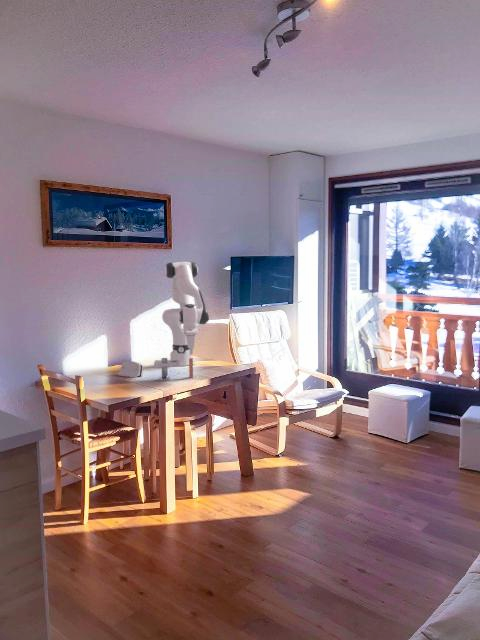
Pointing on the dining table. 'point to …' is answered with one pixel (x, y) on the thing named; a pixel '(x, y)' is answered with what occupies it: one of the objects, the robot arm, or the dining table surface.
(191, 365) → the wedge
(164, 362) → the grey t-bar
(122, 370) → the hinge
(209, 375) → the dining table surface
